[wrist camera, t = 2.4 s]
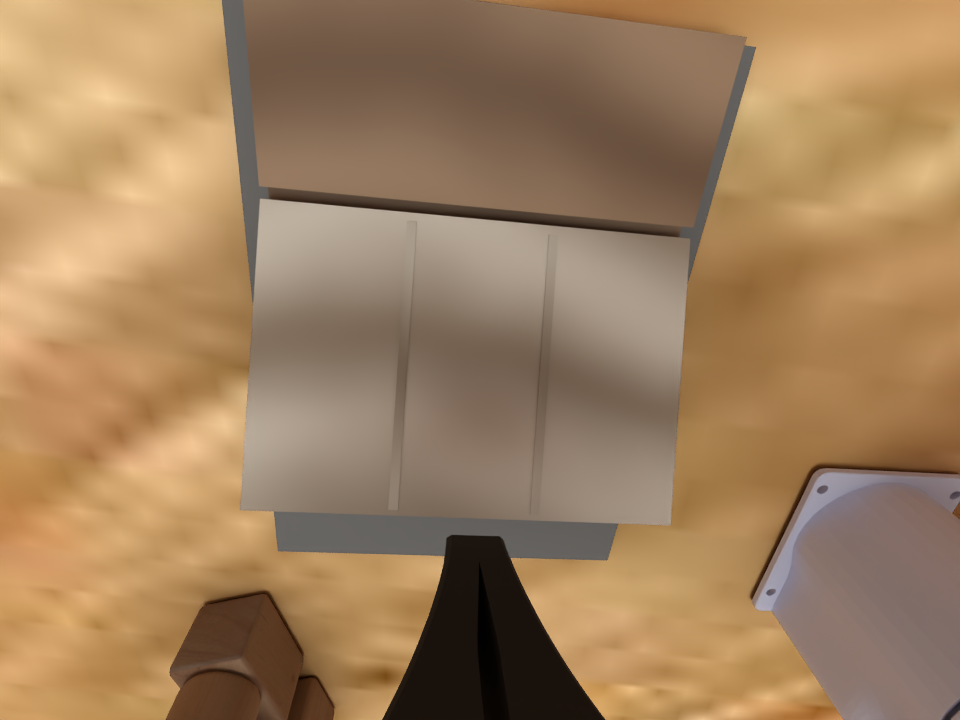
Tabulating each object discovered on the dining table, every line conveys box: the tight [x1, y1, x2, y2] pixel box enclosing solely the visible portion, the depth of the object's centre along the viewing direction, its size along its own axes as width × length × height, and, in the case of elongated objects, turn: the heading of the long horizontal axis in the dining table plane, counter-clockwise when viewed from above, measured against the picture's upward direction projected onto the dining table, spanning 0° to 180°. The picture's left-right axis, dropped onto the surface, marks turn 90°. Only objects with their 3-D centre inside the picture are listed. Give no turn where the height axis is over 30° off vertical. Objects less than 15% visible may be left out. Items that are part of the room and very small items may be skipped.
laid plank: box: [243, 0, 747, 238], centre depth 15 cm, size 6×14×1 cm, turn 84°
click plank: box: [240, 199, 690, 525], centre depth 17 cm, size 10×14×1 cm
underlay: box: [222, 0, 756, 560], centre depth 20 cm, size 22×16×1 cm
